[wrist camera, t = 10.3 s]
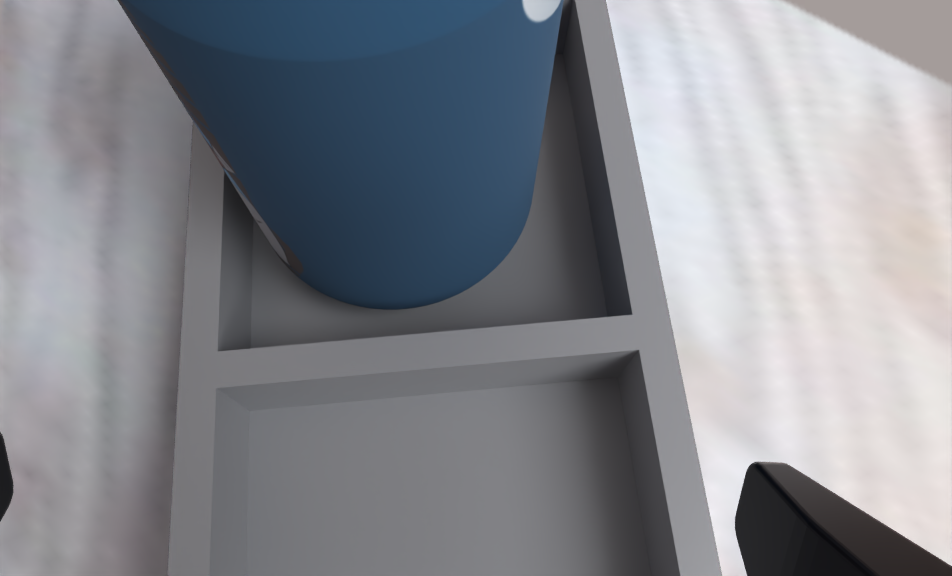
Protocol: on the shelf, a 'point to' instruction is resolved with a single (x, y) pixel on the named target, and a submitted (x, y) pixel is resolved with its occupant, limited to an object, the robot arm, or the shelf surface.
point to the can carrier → (447, 386)
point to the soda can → (369, 129)
